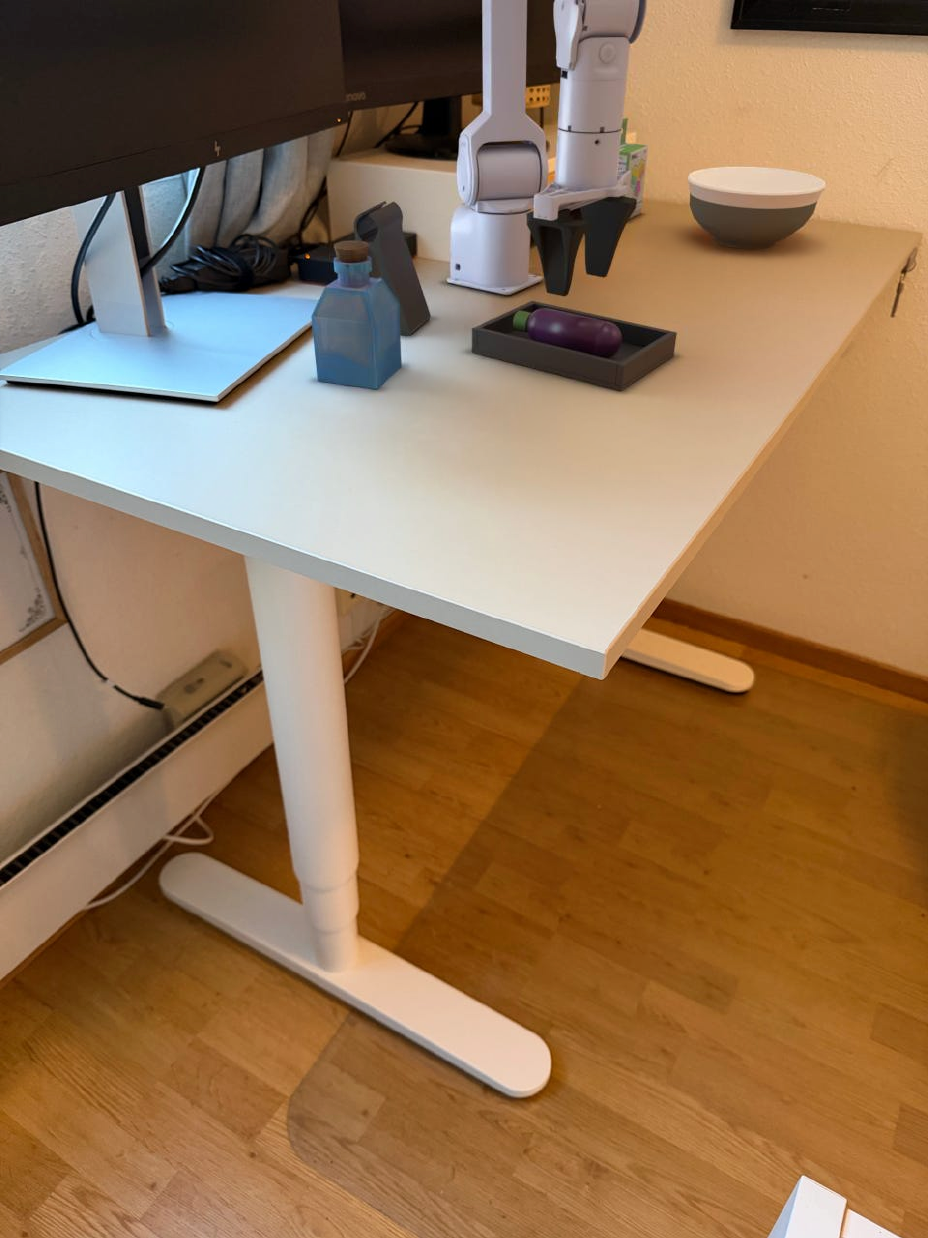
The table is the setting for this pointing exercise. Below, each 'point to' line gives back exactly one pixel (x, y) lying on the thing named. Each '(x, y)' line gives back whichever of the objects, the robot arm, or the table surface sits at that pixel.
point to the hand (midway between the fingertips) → (577, 284)
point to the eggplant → (570, 331)
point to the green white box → (633, 167)
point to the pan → (628, 365)
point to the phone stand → (393, 262)
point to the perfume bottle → (356, 323)
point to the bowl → (752, 203)
